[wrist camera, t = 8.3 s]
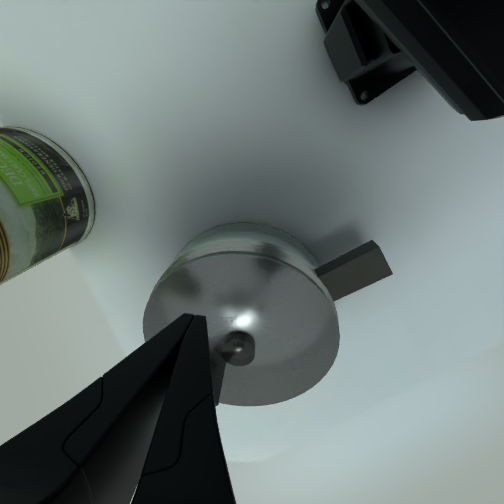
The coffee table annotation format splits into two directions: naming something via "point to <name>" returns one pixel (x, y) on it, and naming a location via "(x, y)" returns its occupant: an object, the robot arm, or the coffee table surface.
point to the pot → (291, 257)
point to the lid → (252, 324)
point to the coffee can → (38, 201)
